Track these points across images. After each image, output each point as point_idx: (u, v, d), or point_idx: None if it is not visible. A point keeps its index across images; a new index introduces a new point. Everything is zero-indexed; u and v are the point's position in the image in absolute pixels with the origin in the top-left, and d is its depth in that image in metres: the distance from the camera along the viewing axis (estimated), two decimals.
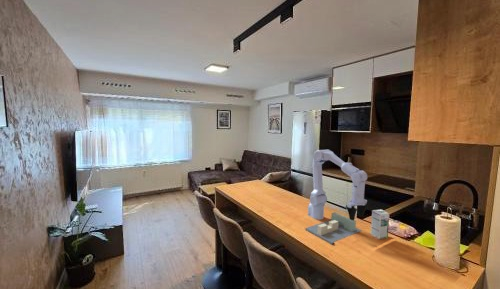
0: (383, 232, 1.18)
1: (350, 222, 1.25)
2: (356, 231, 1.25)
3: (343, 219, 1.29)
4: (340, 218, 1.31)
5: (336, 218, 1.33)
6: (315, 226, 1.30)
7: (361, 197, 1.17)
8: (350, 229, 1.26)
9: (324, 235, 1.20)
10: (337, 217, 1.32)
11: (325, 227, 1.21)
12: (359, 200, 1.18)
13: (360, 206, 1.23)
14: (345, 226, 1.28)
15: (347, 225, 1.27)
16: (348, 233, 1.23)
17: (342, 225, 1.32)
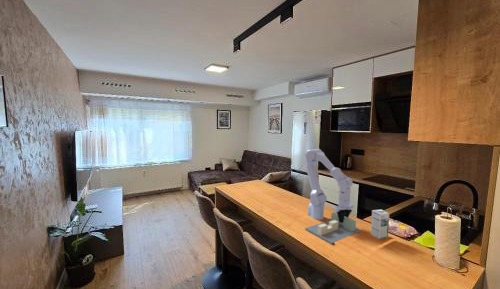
0: (383, 232, 1.18)
1: (350, 222, 1.25)
2: (356, 231, 1.25)
3: None
4: None
5: (336, 218, 1.33)
6: (315, 226, 1.30)
7: (347, 202, 1.27)
8: (350, 229, 1.26)
9: (324, 235, 1.20)
10: (337, 217, 1.32)
11: (325, 227, 1.21)
12: (345, 205, 1.27)
13: (344, 211, 1.32)
14: (345, 226, 1.28)
15: (347, 225, 1.27)
16: (348, 233, 1.23)
17: (342, 225, 1.32)
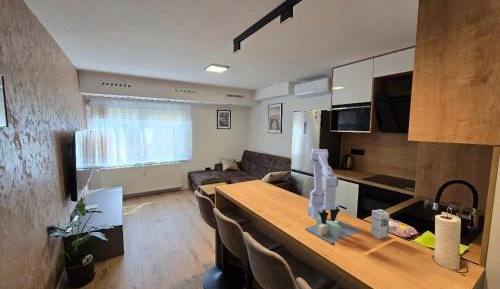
0: (383, 232, 1.18)
1: (335, 227, 1.18)
2: (356, 231, 1.25)
3: (328, 224, 1.22)
4: None
5: (321, 223, 1.26)
6: (315, 226, 1.30)
7: (332, 202, 1.20)
8: (335, 235, 1.19)
9: (324, 235, 1.20)
10: None
11: (325, 227, 1.21)
12: (330, 204, 1.20)
13: (332, 210, 1.26)
14: (330, 232, 1.21)
15: (332, 231, 1.20)
16: (348, 233, 1.23)
17: (342, 225, 1.32)
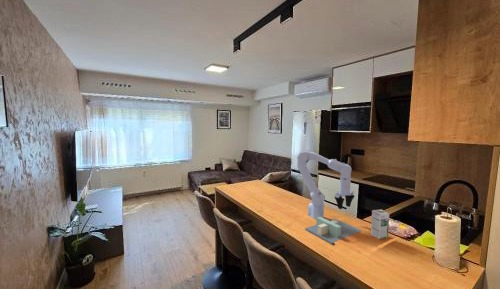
0: (383, 232, 1.18)
1: (335, 227, 1.18)
2: (356, 231, 1.25)
3: (328, 224, 1.22)
4: (325, 223, 1.24)
5: (321, 223, 1.26)
6: (315, 226, 1.30)
7: (348, 188, 1.31)
8: (335, 235, 1.19)
9: (324, 235, 1.20)
10: (322, 222, 1.25)
11: (325, 227, 1.21)
12: (346, 191, 1.31)
13: (347, 197, 1.37)
14: (330, 232, 1.21)
15: (332, 231, 1.20)
16: (348, 233, 1.23)
17: (342, 225, 1.32)
